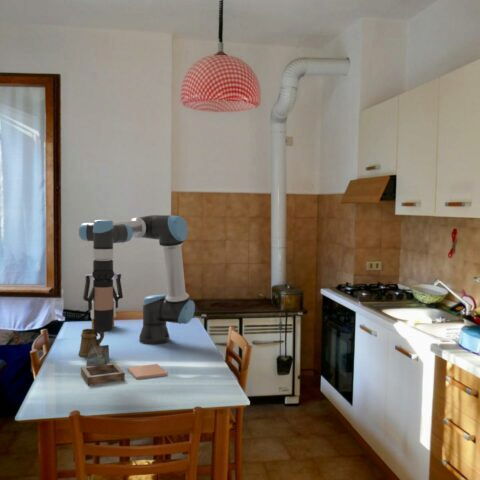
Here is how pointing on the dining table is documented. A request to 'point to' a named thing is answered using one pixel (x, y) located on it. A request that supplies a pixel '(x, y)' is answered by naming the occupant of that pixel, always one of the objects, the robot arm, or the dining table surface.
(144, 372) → the coaster tile
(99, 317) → the travel mug
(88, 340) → the wooden mug
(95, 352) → the beverage carton
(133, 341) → the dining table surface
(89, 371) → the collar
